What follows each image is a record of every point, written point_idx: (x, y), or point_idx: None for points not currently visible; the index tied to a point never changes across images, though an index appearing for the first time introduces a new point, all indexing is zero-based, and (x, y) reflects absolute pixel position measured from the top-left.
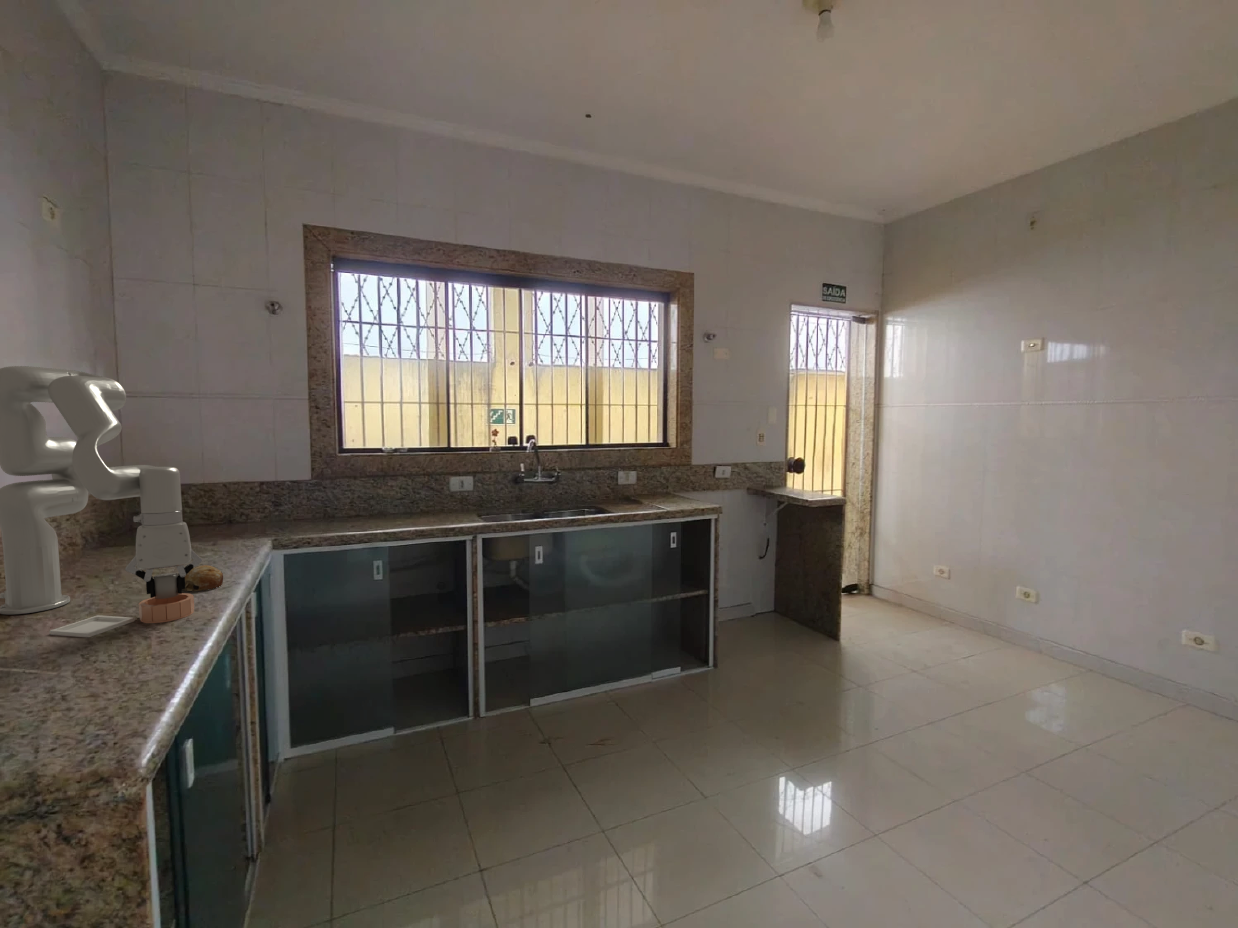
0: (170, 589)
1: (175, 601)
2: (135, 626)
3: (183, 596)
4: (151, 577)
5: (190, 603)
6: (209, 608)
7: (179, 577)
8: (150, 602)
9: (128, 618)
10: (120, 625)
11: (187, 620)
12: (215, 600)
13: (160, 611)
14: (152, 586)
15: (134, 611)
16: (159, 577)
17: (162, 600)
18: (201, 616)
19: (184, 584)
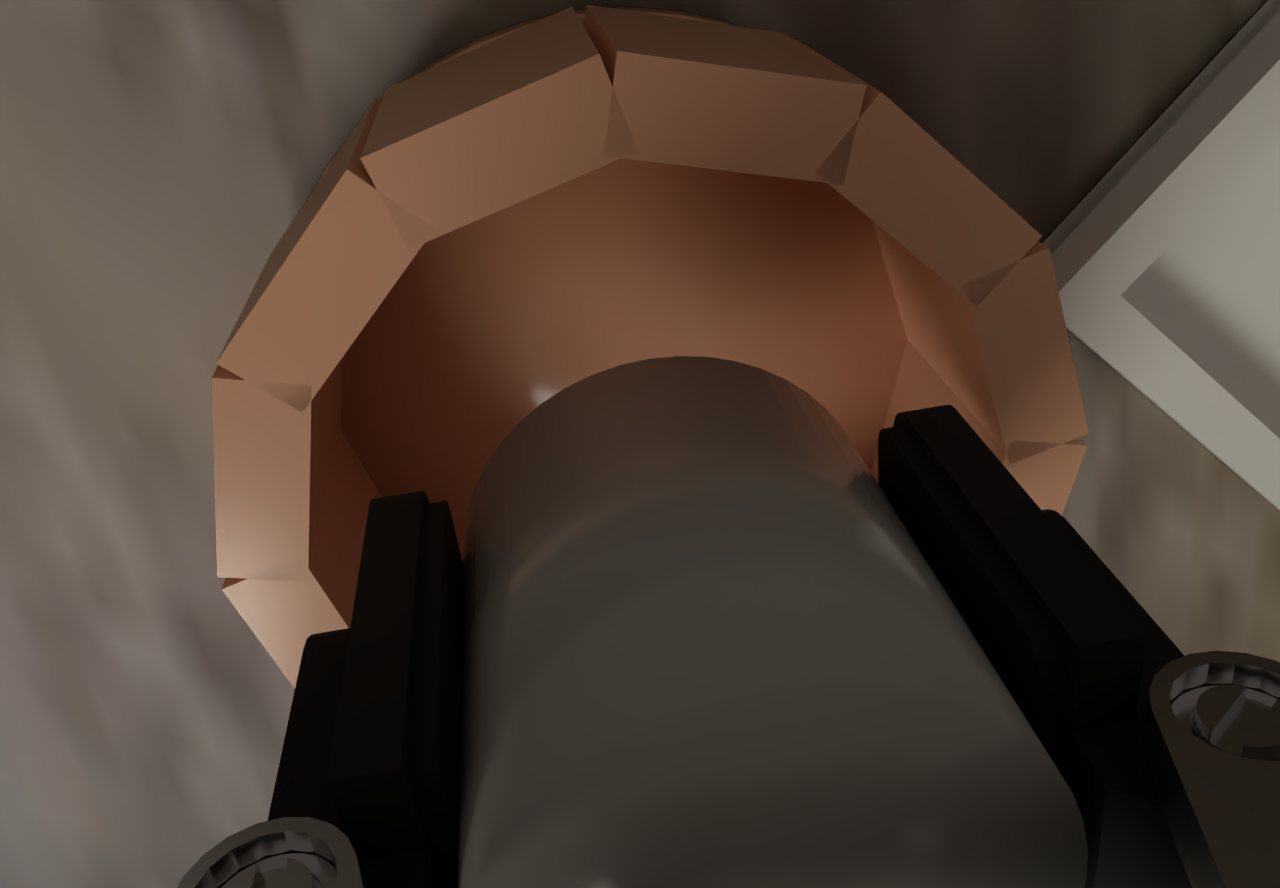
0: (584, 480)
1: None
2: (995, 67)
3: None
4: (1143, 809)
5: (232, 330)
6: (116, 554)
7: (379, 807)
8: None
9: (1115, 296)
10: (1190, 114)
11: (268, 9)
12: (164, 871)
13: (694, 38)
14: (1011, 546)
15: None
16: (931, 760)
17: None
18: (91, 156)
19: (305, 688)
